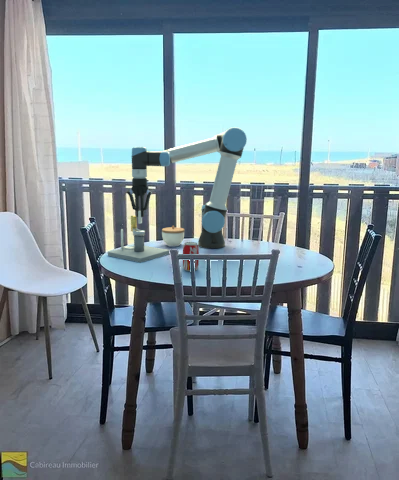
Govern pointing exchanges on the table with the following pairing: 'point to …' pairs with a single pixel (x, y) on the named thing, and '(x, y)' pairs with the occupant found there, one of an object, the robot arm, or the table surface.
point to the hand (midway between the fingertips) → (140, 223)
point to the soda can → (190, 249)
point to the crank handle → (134, 227)
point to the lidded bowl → (173, 236)
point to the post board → (139, 255)
